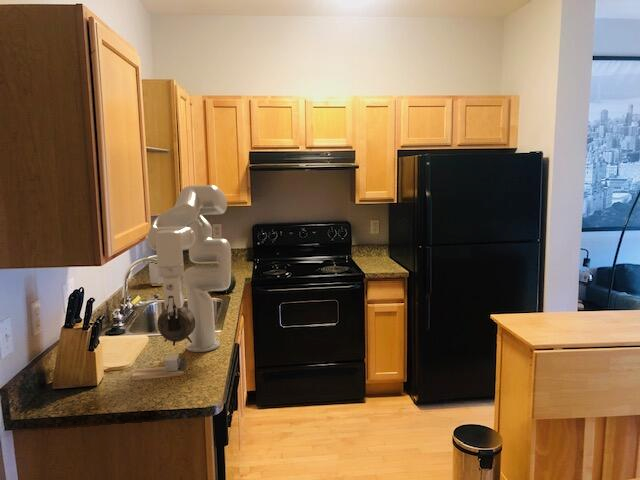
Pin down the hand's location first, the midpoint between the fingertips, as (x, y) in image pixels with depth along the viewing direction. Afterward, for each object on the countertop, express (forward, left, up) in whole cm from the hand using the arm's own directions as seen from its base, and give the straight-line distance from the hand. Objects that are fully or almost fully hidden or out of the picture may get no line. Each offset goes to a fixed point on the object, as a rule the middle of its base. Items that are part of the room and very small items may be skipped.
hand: (175, 326), depth 144 cm
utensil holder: (-146, -27, -20) cm, 150 cm away
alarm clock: (0, 0, -6) cm, 6 cm away
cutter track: (-10, -8, -19) cm, 23 cm away
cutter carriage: (-10, -3, -18) cm, 21 cm away
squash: (-117, +10, -20) cm, 119 cm away
